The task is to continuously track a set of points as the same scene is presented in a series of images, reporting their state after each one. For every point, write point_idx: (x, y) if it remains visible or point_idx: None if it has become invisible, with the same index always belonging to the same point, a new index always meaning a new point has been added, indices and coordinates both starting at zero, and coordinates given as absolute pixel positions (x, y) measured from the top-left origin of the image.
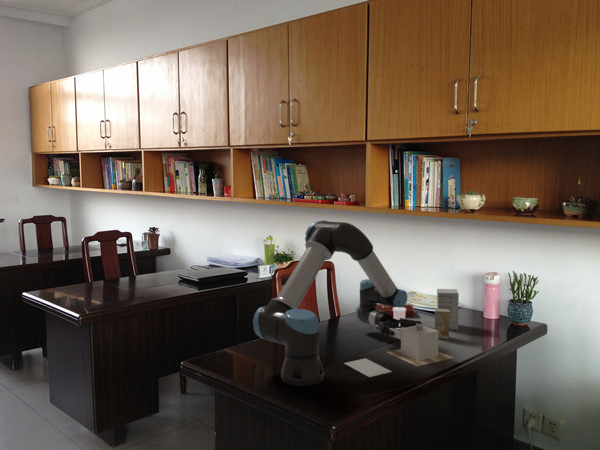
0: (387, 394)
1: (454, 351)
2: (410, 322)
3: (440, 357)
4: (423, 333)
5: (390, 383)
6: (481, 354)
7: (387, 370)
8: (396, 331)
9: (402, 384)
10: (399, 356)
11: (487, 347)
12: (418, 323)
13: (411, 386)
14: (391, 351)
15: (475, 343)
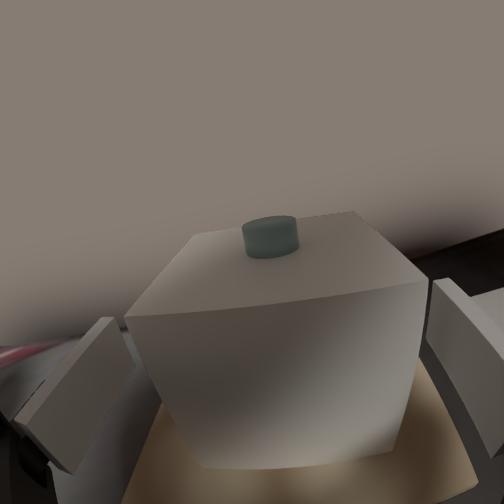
0: (494, 238)
1: None
2: (6, 496)
3: None
4: (308, 219)
5: (490, 260)
6: None
7: (500, 299)
8: (475, 307)
9: (463, 256)
10: (425, 404)
11: (30, 349)
12: (24, 406)
13: (444, 250)
14: (440, 492)
15: (3, 378)
